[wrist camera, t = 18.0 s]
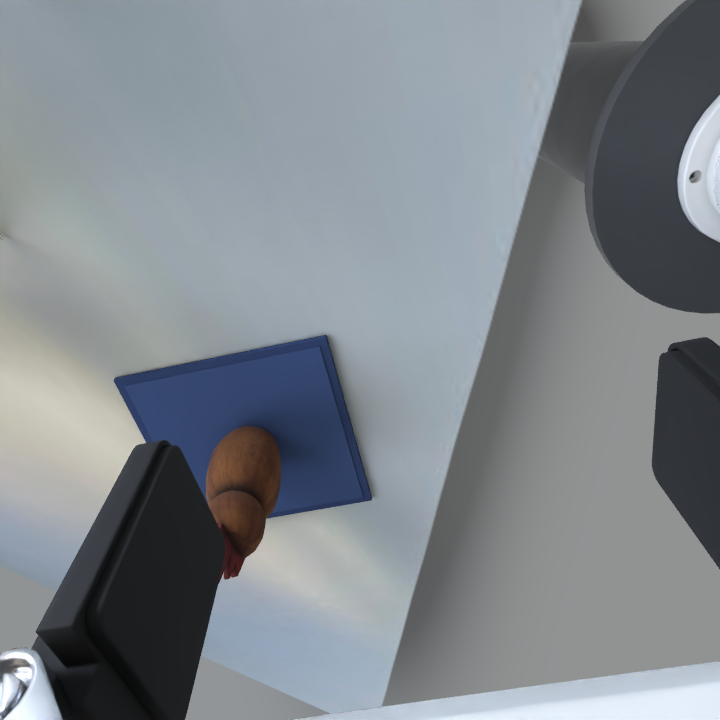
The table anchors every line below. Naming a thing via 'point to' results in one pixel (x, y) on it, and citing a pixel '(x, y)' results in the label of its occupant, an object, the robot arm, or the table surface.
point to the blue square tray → (259, 417)
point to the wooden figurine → (243, 491)
